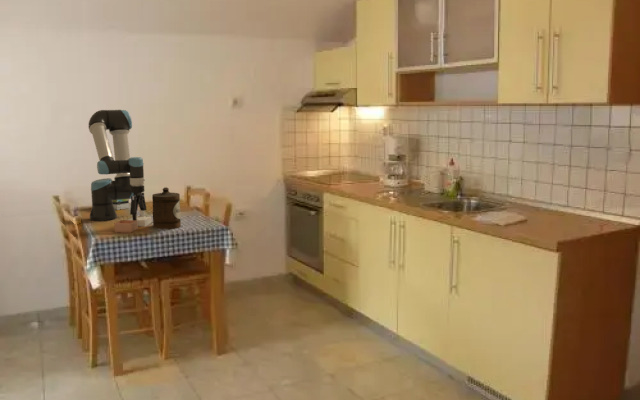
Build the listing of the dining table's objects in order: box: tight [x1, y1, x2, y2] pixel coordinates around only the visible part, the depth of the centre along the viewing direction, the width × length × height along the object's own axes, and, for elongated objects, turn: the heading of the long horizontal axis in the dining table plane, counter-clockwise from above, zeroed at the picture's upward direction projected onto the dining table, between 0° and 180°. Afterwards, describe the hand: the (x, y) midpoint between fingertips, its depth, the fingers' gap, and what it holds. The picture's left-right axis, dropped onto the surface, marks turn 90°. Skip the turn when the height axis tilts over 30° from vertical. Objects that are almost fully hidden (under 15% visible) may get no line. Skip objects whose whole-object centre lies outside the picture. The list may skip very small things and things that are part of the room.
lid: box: [126, 215, 153, 227], centre depth 335 cm, size 10×10×4 cm
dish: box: [114, 219, 139, 234], centre depth 319 cm, size 9×9×5 cm
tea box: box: [113, 199, 130, 211], centre depth 388 cm, size 15×10×15 cm
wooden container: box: [152, 186, 182, 230], centre depth 330 cm, size 15×15×22 cm
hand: (139, 223), depth 335 cm, fingers closed on mat, 11 cm apart
